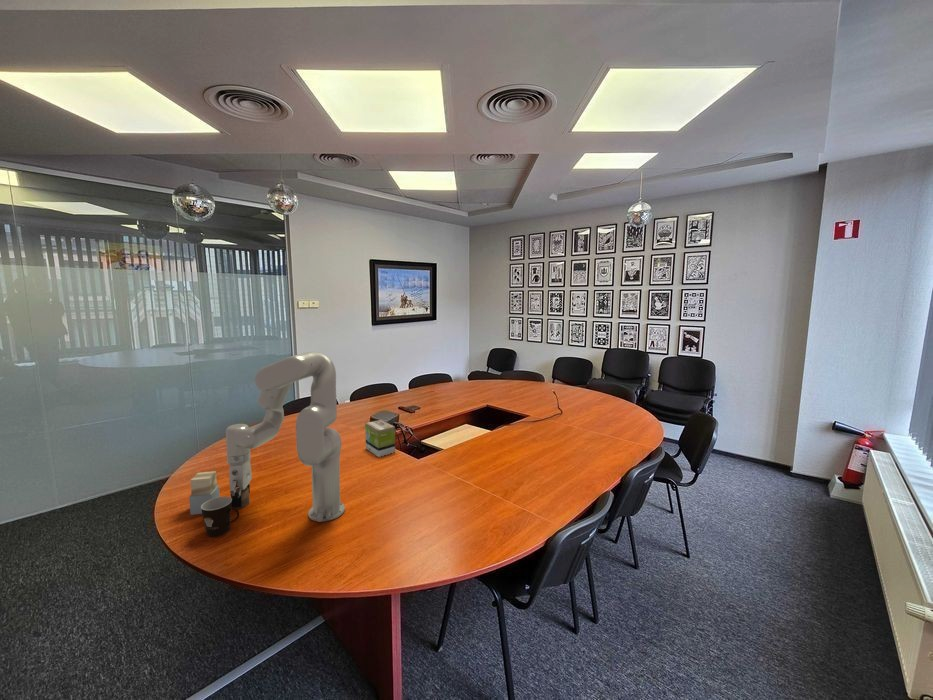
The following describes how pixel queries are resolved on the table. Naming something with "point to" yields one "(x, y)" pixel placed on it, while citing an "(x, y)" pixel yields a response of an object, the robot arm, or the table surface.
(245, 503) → the walnut cylinder
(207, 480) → the birch block
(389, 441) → the tea box
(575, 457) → the table surface
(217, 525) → the coffee mug
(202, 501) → the white box
